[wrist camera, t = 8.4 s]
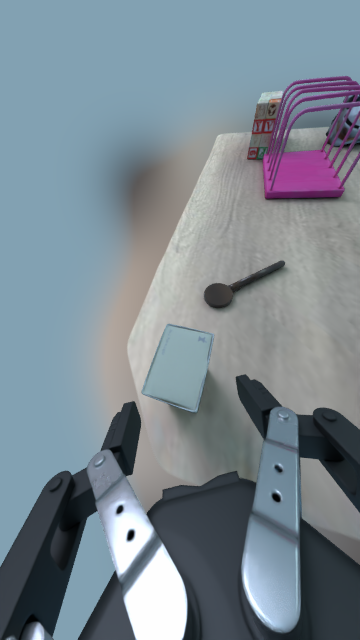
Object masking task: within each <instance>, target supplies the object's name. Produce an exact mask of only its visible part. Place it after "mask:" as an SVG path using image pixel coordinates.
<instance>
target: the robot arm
mask: <svg viewBox="0 0 360 640" xmlns="http://www.w3.org/2000/svg"><path fill="white" fill-rule="evenodd" d="M236 383H237V390H238V395H239V398H240V401H241V403H242V404H243V406H244V407H245V409H246V411H247V412H248V414H249V416H250V417H251V419H252V421H253V422H254V424H255V426H256V427H257V429H258V431H259V432H260V434H261V436H262V437H263V439H264V441H263V447H262V453H261V459H260V466H259V472H258V478H257V483H255V482H253V481H251V480H248V479H243V478H239V476H238V473H237V471H234V472H230V473H227V474H223V475H219V476H217V477H215V478H214V479H212V480H211V481H209V482H207V483H206V484H204V485H202V486H187V485H179V486H176V487H172V488H168V489H164V490H163V498H162V499H160V500H159V501H158V502H156V503H155V504H154V505H153V506H152V507H151V509H150V510H149V511H148V512H147V514H146V513H145V511H144V509H143V507H142V506H141V504H140V502H139V500H138V498H137V496H136V495H135V493H134V491H133V489H132V487H131V485H130V483H129V482H128V480H127V478H126V476H128V475H132V474H133V468H134V463H135V457H136V451H137V446H138V440H139V434H140V428H141V418H140V415H139V412H138V409H137V407H136V403H135V402H134V401H133V402H129V403H125V404H124V405H123V407H122V410H121V412H118V413H117V414H116V416H115V417H114V418H113V420H112V422H111V426H110V428H109V430H108V433H107V435H106V438H105V440H104V443H103V446H102V448H101V451H100V452H99V453H97V454H96V455H95V456H94V457H93V458H92V459H91V460H90V462H89V464H88V466H87V468H85V469H83V470H81V471H80V472H78V473H76V474H74V475H71V473H70V472H69V471H63V472H60V473H58V474H57V475H55V476H54V477H53V478H52V479H51V480H50V481H49V482H48V483H47V484H46V486H45V487H44V488H43V490H42V492H41V494H40V496H39V497H38V499H37V501H36V503H35V505H34V507H33V508H32V510H31V512H30V514H29V516H28V518H27V519H26V521H25V523H24V525H23V527H22V529H21V530H20V532H19V534H18V536H17V538H16V540H15V541H14V543H13V545H12V547H11V549H10V551H9V552H8V554H7V556H6V558H5V560H4V561H3V563H2V565H1V567H0V640H54V639H53V638H52V636H53V633H54V630H55V626H56V623H57V619H58V616H59V613H60V609H61V606H62V602H63V599H64V596H65V592H66V588H67V585H68V582H69V578H70V575H71V572H72V568H73V565H74V561H75V558H76V555H77V551H78V548H79V544H80V541H81V537H82V534H83V531H84V527H85V524H86V520H87V517H89V516H90V515H92V514H93V513H94V512H96V511H98V514H99V517H100V520H101V523H102V526H103V530H104V533H105V536H106V539H107V543H108V546H109V549H110V552H111V556H112V559H113V562H114V565H115V569H116V570H115V572H114V574H113V575H112V577H111V579H110V581H109V583H108V585H107V586H106V588H105V590H104V592H103V594H102V595H101V597H100V599H99V601H98V603H97V605H96V607H95V608H94V611H93V612H92V614H91V616H90V618H89V619H88V621H87V623H86V625H85V627H84V629H83V630H82V632H81V634H80V636H79V638H78V640H360V565H359V564H358V563H356V562H355V561H354V560H353V559H352V558H350V557H349V556H348V555H347V554H345V553H344V552H343V551H342V550H340V549H339V548H338V547H337V546H335V545H334V544H333V543H332V542H330V541H329V540H328V539H327V538H326V537H324V536H323V535H322V534H321V533H319V532H318V531H317V530H316V529H314V528H313V527H312V526H311V525H310V524H308V523H307V522H306V521H305V520H303V519H302V503H301V473H300V457H302V458H312V459H319V461H320V462H321V463H322V465H323V466H324V467H325V468H326V470H327V471H328V472H329V474H330V475H331V476H332V477H333V479H334V480H335V481H336V483H337V484H338V485H339V487H340V488H341V489H342V490H343V492H344V493H345V494H346V496H347V497H348V498H349V500H350V501H351V502H352V503H353V505H354V506H355V507H356V509H357V510H358V511H359V512H360V430H359V429H358V428H357V427H356V426H354V425H353V424H352V423H351V422H350V421H349V420H347V419H346V418H345V417H344V416H343V415H341V414H340V413H338V412H337V411H335V410H332V409H328V408H317V409H315V410H314V411H313V415H298V414H295V413H294V412H293V411H292V410H290V409H288V408H285V407H282V406H281V404H280V403H279V402H278V401H277V400H276V399H275V398H274V397H273V396H272V395H271V393H270V392H269V391H268V390H267V389H266V388H265V387H264V386H263V385H262V383H260V382H259V381H257V380H255V379H254V380H250V379H249V378H248V376H247V375H241V376H237V377H236Z"/></svg>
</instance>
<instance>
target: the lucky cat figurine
mask: <svg viewBox="0 0 360 640" xmlns="http://www.w3.org/2000/svg"><path fill="white" fill-rule="evenodd" d="M351 91H355V90H351ZM354 97H355V95H352V96H349V97H348V100H347V102H346V103H351V102H353V99H354ZM345 98H346V97H345ZM344 100H345V99H344ZM356 102H360V95H358V97H357V99H356ZM343 103H344V101H343ZM349 108H350V107H349ZM349 108H343V110H342V112H341V114H340V117H339V119H338V121H337V123H336V125H335V127H334V129H333V131H332V133H331V135H330V137H329V140H328V142H327V143H329V144H331V145H332V143H333V141H334V138H335V136H336V134H337V132H338V130H339V128H340V126H341V124H342V122H343V120H344V118H345V116H346V114H347V112H348V110H349ZM359 111H360V106H358V107H353V108H352V110H351V112H350V114H349V116H348V118H347V120H346V122H345V124H344V126H343V128H342V130H341V132H340V134H339V136H338V138H337V140H336V142H335V144H334V146H340V145H341V144H342V142H343V140H344V138H345V136H346V135H347V133H348V131H349V129H350V127H351V125H352V124H353V122H354V120H355V118H356V116H357V114H358V112H359ZM337 115H338V114H337ZM336 118H337V116H336V117H335V119H334V120H333V121H332V123H331V125H330V127H329V129H328V132H327V133H326V136H327V137H328V135H329V132H330V130H331V128H332V126H333V124H334V122H335V120H336ZM359 129H360V117H359V118H358V120H357V122H356V124H355V126H354V128H353V129H352V131H351V133H350V135H349V137H348V138H347V140H346V142H345V144H351V143H352V142H353V140H354V138H355V136H356V135H357V133H358V131H359ZM356 143H360V136H359V137H358V139H357V141H356Z"/></svg>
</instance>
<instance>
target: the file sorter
mask: <svg viewBox="0 0 360 640" xmlns="http://www.w3.org/2000/svg"><path fill="white" fill-rule="evenodd" d="M336 80H347V81H342V82H341V81H340V82H329V83H319V84H310V85H301V86H297V87H295V88H294V89H293V90H291V92H290V93H289V94H288V95H287V97H286V98H285V100H284V97H285V94H286V92H287V91H288V90H289V89H290V88H291V87H292V86H293V85H296V84H302V83H311V82H321V81H336ZM340 85H349V86H340ZM327 86H333V87H327ZM317 87H318V88H317ZM299 89H302V90H300V91H299V92H298V93H296V94H295V95H294V96H293V98H292V99H291V100H290V102H289V104H288V106H287V109H286V112H285V115H284V118H283V122H282V125H281V128H280V131H279V135H278V138H277V142H276V145H275V148H274V152H273V153H272V150H273V147H274V143H275V139H276V135H277V132H278V128H279V124H280V121H281V117H282V114H283V110H284V107H285V104H286V101H287V99H288V98H289V96H290V95H291V94H292V93H293V92H294V91H296V90H299ZM340 90H349V91H346V92H338V93H330V94H322V95H315V96H308V97H304V98H302V99H300V100H298V101H297V102H296V103H295V104H294V105H293V106H292V107H291V109H290V111H289V107H290V105H291V104H292V102H293V100H294V99H295V98H296V97H297V96H299V95H300V94H302V93H308V92H322V91H340ZM351 90H355V91H351ZM352 95H355V97H354V99H353V102H351V103H346V102H347V100H348V97H349V96H352ZM358 95H360V85H359V84H358V83H357V82H356V81H352V79H351V78H350V77H348V76H339V77H327V78H316V79H306V80H298V81H295V82H293V83H291V84H290V85H289V86H288V87H287V89H286V90H285V92H284V94H283V96H282V99H281V102H280V106H279V109H278V113H277V117H276V121H275V124H274V128H273V132H272V136H271V140H270V143H269V147H268V151H267V154H264V157H263V172H264V187H265V198H267V199H268V198H315V197H341V195H342V194H343V192H344V190H345V189H344V187H343V185H344V183H345V181H346V180H347V178H348V177H349V175H350V173H351V172H352V170H353V168H354V167H355V165H356V163H357V162H358V160H359V159H360V152H359V154H358V156H357V157H356V159H355V161H354V163H353V164H352V166H351V167H350V169H349V171H348V172H347V174H346V176H345V178H344V179H343V181H342V183H341V181H340V179H339V177H338V175H337V174H338V173H339V171H340V169H341V167H342V166H343V164H344V162H345V160H346V159H347V157H348V155H349V153H350V151H351V150H352V148H353V146H354V144H355V143H356V141H357V139H358V137H359V136H360V129H359V131H358V133H357V135H356V136H355V138H354V140H353V142H352V144H351V145H350V147H349V149H348V151H347V153H346V155H345V156H344V158H343V160H342V162H341V164H340V165H339V167H338V169H337V171H335V169H334V167H333V163H334V162H335V160H336V158H337V156H338V154H339V153H340V151H341V149H342V147H343V146H344V144H345V142H346V140H347V138H348V137H349V135H350V133H351V131H352V129H353V128H354V126H355V124H356V122H357V120H358V118H359V117H360V111H359V112H358V114H357V116H356V118H355V120H354V122H353V124H352V125H351V127H350V129H349V131H348V133H347V135H346V136H345V138H344V140H343V142H342V144H341V146H340V147H339V149H338V151H337V153H336V155H335V156H334V158H333V160H332V162H330V160H329V158H328V156H329V154H330V152H331V150H332V148H333V146H334V144H335V142H336V140H337V138H338V136H339V134H340V132H341V130H342V128H343V126H344V124H345V122H346V120H347V118H348V116H349V114H350V112H351V110H352V108H353V107H358V106H360V102H356V99H357V97H358ZM343 96H346V98H345V100H344V103H342V104H333V105H325V106H317V107H309V108H306V109H304V110H302V111H301V112H299V113H298V114H297V115H296V116H295V117H294V118H293V120H292V121H291V123H290V125H289V127H288V130H287V133H286V136H285V139H284V143H283V146H282V149H281V153H279V150H280V146H281V143H282V139H283V136H284V132H285V128H286V125H287V122H288V119H289V116H290V114H291V112H292V111H293V109H294V108H295V107H296V106H297V105H298V104H300V103H302V102H305V101H312V100H319V99H325V98H334V97H343ZM283 100H284V103H283ZM282 103H283V106H282ZM281 107H282V109H281ZM349 107H350V108H349ZM339 108H341V109H340V111H339V113H338V115H337V118H336V120H335V122H334V124H333V126H332V128H331V130H330V132H329V135H328V137H327V139H326V141H325V143H324V145H323V147H322V149H321V150H315V151H299V152H284V149H285V145H286V142H287V139H288V136H289V133H290V130H291V127H292V125H293V124H294V122H295V121H296V119H297V118H299V116H301V115H302V114H304V113H307V112H314V111H322V110H331V109H339ZM343 108H349V110H348V112H347V114H346V116H345V118H344V120H343V122H342V124H341V126H340V128H339V130H338V132H337V134H336V136H335V138H334V141H333V143H332V145H331V146H330V149H329V151H328V153H327V154H326V152H325V150H324V148H325V146H326V144H327V142H328V140H329V137H330V135H331V133H332V131H333V129H334V127H335V125H336V123H337V121H338V119H339V117H340V114H341V112H342V110H343ZM280 110H281V113H280ZM288 111H289V112H288ZM279 113H280V116H279ZM278 117H279V120H278ZM277 121H278V124H277ZM276 125H277V128H276ZM283 126H284V127H283ZM275 128H276V131H275ZM274 132H275V135H274ZM281 133H282V134H281ZM273 136H274V139H273ZM280 136H281V137H280ZM279 139H280V141H279ZM272 140H273V143H272ZM271 143H272V146H271ZM278 143H279V145H278ZM277 146H278V148H277ZM270 147H271V150H270ZM276 149H277V152H276ZM269 151H270V154H269ZM275 152H276V153H275ZM283 152H284V153H283Z"/></svg>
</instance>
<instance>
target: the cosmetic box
mask: <svg viewBox="0 0 360 640" xmlns="http://www.w3.org/2000/svg"><path fill="white" fill-rule="evenodd" d="M213 340H214V334H212V333H208V332H204V331H200V330H196V329H191V328H186V327H182V326H177V325H172V324H167V326H166V328H165V330H164V333H163V335H162V337H161V340H160V342H159V345H158V347H157V350H156V353H155V356H154V358H153V361H152V364H151V366H150V369H149V372H148V375H147V378H146V380H145V383H144V386H143V389H142V394H143V395H146V396H149V397H151V398H154V399H156V400H159V401H162V402H164V403H167V404H170V405H172V406H175V407H178V408H181V409H184V410H187V411H190V412H193V413H197V412H198V408H199V404H200V400H201V396H202V392H203V388H204V383H205V379H206V374H207V369H208V364H209V360H210V355H211V350H212V345H213Z"/></svg>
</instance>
